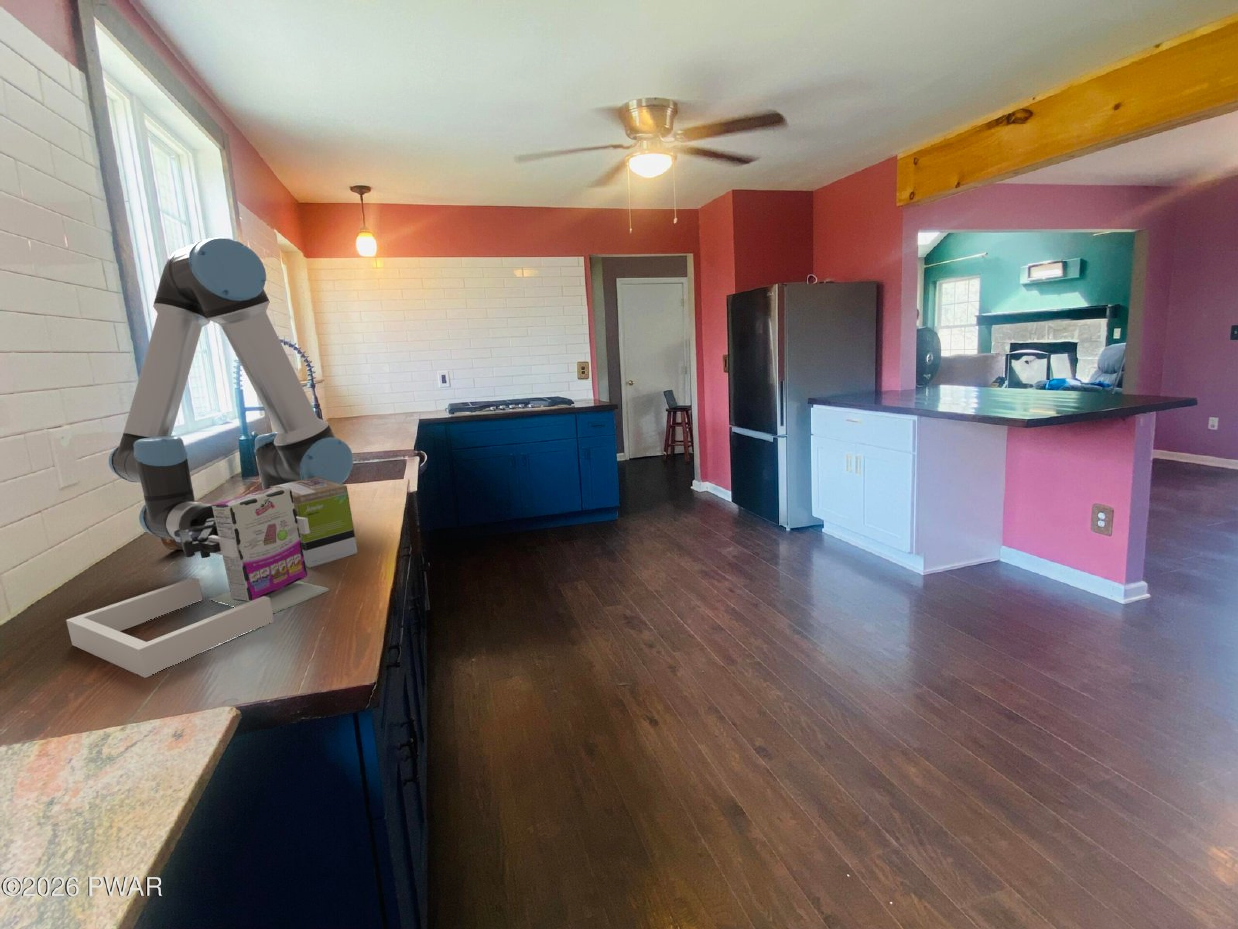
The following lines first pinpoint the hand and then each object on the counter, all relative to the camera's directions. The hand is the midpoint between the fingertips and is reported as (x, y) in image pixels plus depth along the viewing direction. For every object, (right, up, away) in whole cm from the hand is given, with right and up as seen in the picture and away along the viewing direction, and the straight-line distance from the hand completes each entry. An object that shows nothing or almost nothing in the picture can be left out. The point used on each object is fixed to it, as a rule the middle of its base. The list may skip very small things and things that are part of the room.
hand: (272, 536), depth 98 cm
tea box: (-5, -7, +25) cm, 26 cm away
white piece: (-10, -14, -8) cm, 19 cm away
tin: (-39, -6, +37) cm, 54 cm away
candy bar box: (-2, -9, +4) cm, 10 cm away
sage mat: (-3, -11, +4) cm, 12 cm away
